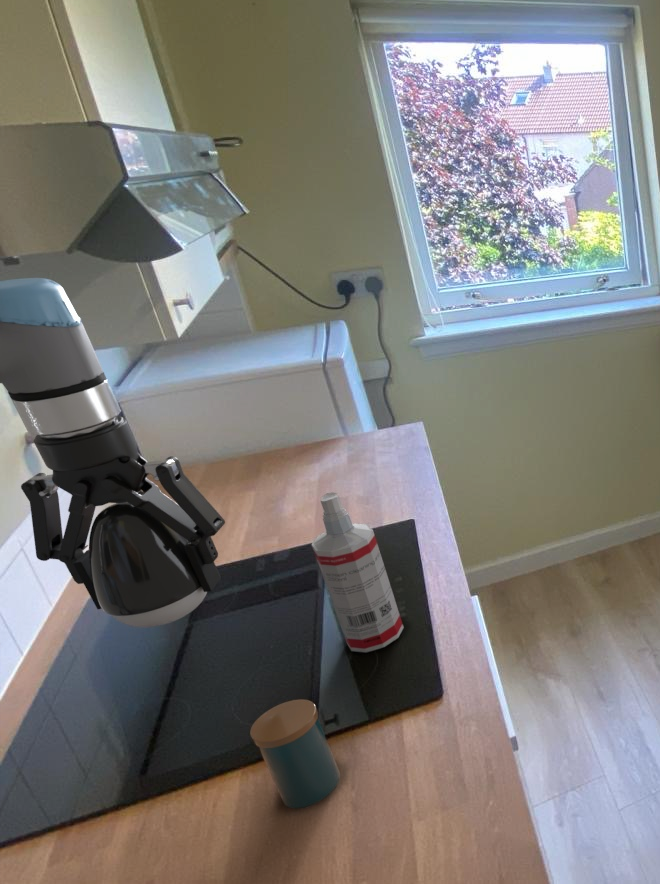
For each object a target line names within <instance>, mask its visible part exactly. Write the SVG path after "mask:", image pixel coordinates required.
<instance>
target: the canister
mask: <svg viewBox="0 0 660 884" xmlns="http://www.w3.org/2000/svg"><path fill="white" fill-rule="evenodd" d="M249 735H250V738H251V740H252V742H253V744H254V745H255V746H256V747H257V748H258V750H259V752H260V754H261V757H262V759H263V761H264V763H265V766H266V768H267V770H268V772H269V775H270V776H271V778H272V781H273V783H274V785H275V787H276V790H277V792H278V793H279V796H280V798H281V800H282V803H283V804H284V806H285V807H287V808H290V809H302V808H306V807H309V806H313V805H315V804H316V803H319V802H320V801H322V800H324V799H325V798H327V796H329V795H330V794H331V793H332V792H333V791H334V790H335V789H336V788H337V786H338V784H339V782H340V780H341V772H340V769H339V766H338V763H337V762H336V760H335V759H336V758H335V757H334V754H333V752H332V749H331V746H330V744H329V742H328V739H327V736H326V734H325V732H324V729H323V727H322V724H321V722H320V719H319V711H318V709H317V706H316V704H315V703H314V702H313V701H312V700H308V699H305V698H304V699H303V698H300V699H292V700H289V701H285V702H282V703H279V704H278V705H275V706H273V707H272V708H270V709H268V710H266V711H264V713H262V714H261V715H260V716H259V717H258V718H257V719H256V720H255V721H254V723H253V724H252V726H251V728H250V731H249Z"/></svg>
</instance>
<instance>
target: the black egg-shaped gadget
mask: <svg viewBox="0 0 660 884" xmlns="http://www.w3.org/2000/svg"><path fill="white" fill-rule="evenodd" d="M143 493H144V492H143V491H142V490H140V492H139V493H138V494H140V495H142V494H143ZM92 522H93V523H92V524H91V527H90V531H89V538H88V539H89V540H88V550H89V560H90V570H91V577H92V582H93V586H94V589H95V593H96V596H97V599H98V602H99V604H100V606H101V608H102V609H101V610H102V611H103V612H104V613H105V614H107V615H110V616H111V617H112V618H113V619H115V620H116V621H117V622H119V623H121V624H123V625H126V626H130V627H134V628H154V627H159V626H164V625H168V624H171V623H173V622H176V621H178V620H180V619H182V618H184V617H186V616H187V615H189V614H190V613H192V612H193V611H195V609H197V608H198V607H199V606H200V604H202V602H203V601H204V599H205V598H206V596H207V594H208V592H204V591H203V589H202V586H201V584H200V582H199V580H198V578H197V576H196V573H195V571H194V569H193V567H192V565H191V562H190V560H189V558H188V556H187V554H186V552H185V549H184V547H183V546H184V545H185V544H186V543H187V542H188V540H187V539H185V538H184V537H182V536H181V535H180V534H178V533H177V532H175V531H174V530H172V529H171V528H169V527H168V526H167V525H165V524H164V523H162V522H161V521H159V520H158V519H157V518H155V517H154V516H152V515H151V514H149V513H148V512H147V511H145V510H144V509H142V508H140V507H134V506H132V505H131V504H130V503H128V502H124V503H112V504H111V505H108V506H106V507H105V508H104V509H102V510H101V511H100V512H99V513H98V514H97V515H96V517H95V518H94V519H93V521H92Z"/></svg>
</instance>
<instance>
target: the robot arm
mask: <svg viewBox="0 0 660 884" xmlns="http://www.w3.org/2000/svg"><path fill="white" fill-rule="evenodd" d="M0 384H2V386H3V387H4V389H5V390H6V391H7V393H8V395H9V398H10V399H11V402H12V403H13V406H14V407H15V409H16V412H17V414H18V415H19V418H20V419H21V422H22V423H23V425H24V427H25V429H26V431H27V433H28V434H30V435H34V436H35V437H34V439H33V444H34V445H35V448H36V449H37V451H38V453H39V455H40V457H41V459H42V461H43V463H44V464H45V466H46V467H47V468H48V469H49V470H51V471H52V474H47V473H44V472H37V474H35V475H33V476H32V477H30V478H29V479H27V480H25V481H24V482H23V483H22V484H21V485H20V489H21V490H22V492H23V493H24V495H25V497H26V498H27V500H28V501H29V507H30V514H31V515H30V516H31V523H32V532H33V540H34V548H35V556H36V558H37V559H38V560H39V561H42V562H47V561H48V560H59V562H61V563H64V565H65V567H66V569H67V570H68V572H69V574H70V576H71V577H72V579H73V581H74V582H75V583H76V584H77V585H81V584H83V585H84V587H85V589H86V592H87V593H88V594H89V597H90V598H91V600H92V602H93V604H94V605H95V608H96V610H102V608H101V606H100V604H99V602H98V599H97V596H96V593H95V589H94V586H93V582H92V577H91V570H90V560H89V549H87V550H86V548H87V547H89V544H87V540H88V537H89V535H90V531H91V527H92V524H93V523H92V522H93V520H94V519H93V518H94V515H95V511H96V509H97V508H96V507H101V506H104V505H107V504H116V503H124V502H128V503H130V504H131V505H132V506H134V507H140V508H142V509H144V510H145V511H147V512H148V513H149V514H151V515H152V516H154V517H155V518H157V519H158V520H159V521H161V522H162V523H164V524H165V525H167V526H168V527H169V528H171V529H172V530H174V531H175V532H177V533H178V534H180V535H181V536H182V537H184V538H185V539H187V540H188V542H187V543H186V544H185V545H184V546H183V547H184V549H185V552H186V554H187V556H188V558H189V560H190V562H191V565H192V567H193V569H194V571H195V573H196V576H197V578H198V580H199V582H200V584H201V586H202V589H203V591H204V592H207V593H208V592H212V591H213V590H214V588H215V587H216V586H217V585H218V583H219V582H220V581H221V579H222V577H221V574H220V572H219V570H218V568H217V565H216V563H215V561H216V560H217V559H218V558H219V552H218V550H217V548H216V547H217V546H216V545H215V542H214V540H213V538H212V537H213V536H215V535H216V534H217V533H218V532H219V531H220V530H221V528H222V527H223V526H224V525H225V523H226V520H225V519H224V517H222V515H221V514H220V513H219V512H218V511H217V510H216V509H215V507H214V506H213V505H212V504H211V503H210V501H208V499H207V498H206V497H205V496H204V495H203V493H202V492H201V491H200V490H199V489H198V488H197V487H196V486H195V484H193V482H192V481H191V480H190V479H189V478H188V477H187V475H185V473H184V471H183V467H182V465H181V463H180V460H179V458H177V457H176V456H172V455H171V456H168V457H166V458H165V459H164V460H156V461H147V459H145V458H144V457H142V455H141V454H140V452H139V451H138V443H137V440H136V438H135V436H134V434H133V432H132V430H131V428H130V426H129V423H128V421H127V419H126V418H125V417H122V416H121V415H119V414H120V413H121V412H122V409H121V407H120V404H119V403H118V400H117V398H116V396H115V393H114V392H113V390H112V387H111V385H110V383H109V380H108V378H107V376H106V374H105V372H104V369H103V367H102V365H101V363H100V360H99V358H98V356H97V354H96V352H95V349H94V347H93V344H92V342H91V340H90V338H89V335H88V332H87V331H86V329H85V326H84V324H83V321H82V318H81V317H80V316H79V315H78V314H77V311H76V309H75V307H74V306H73V304H72V302H71V300H70V298H69V297H68V294H67V292H66V290H65V289H64V287H63V286H62V285H61V284H60V283H58V282H56V281H54V280H52V279H49V278H43V277H27V278H26V277H25V278H15V279H7V280H0ZM148 475H151V476H152V477H153V481H155V482H159V483H160V485H161V487H162V488H163V489H164V491H165V492H166V493H167V494H168V495H169V496H170V497H171V498H172V499H171V498H170V497H168V496H167V495H166V494H164V493H163V492H162V491H161V488H160V487H159V486H158V485H157V484H156V483H154V482H153V481H151V480H150V479H149V478H148ZM59 489H61V490H63V491H64V492H66V493H67V494H70V495H71V497H70V503H69V505H68V508H67V511H68V513H69V515H68V517H67V522H66V525H65V530H64V533H63V528H62V527H63V525H62V519H61V518H62V516H61V508H60V499H59V492H58V490H59ZM140 491H143V492H144V493H143V494H142V495H140V494H138V493H139V492H140ZM84 550H86V551H84Z"/></svg>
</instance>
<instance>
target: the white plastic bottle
mask: <svg viewBox="0 0 660 884" xmlns="http://www.w3.org/2000/svg"><path fill="white" fill-rule="evenodd" d="M319 501H320V504H321V507H322V510H323V512H322V521H323V524H324V528H325V532H323V533H320V534H318V535H317V537H316V538H315V539H314V540H313V541H312V543H311V548H312V551H313V553H314V557H315V559H316V561H317V564H318V566H319V569H320V572H321V575H322V578H323V580H324V581H323V582H324V583H325V587H326V589H327V592H328V595H329V597H330V600H331V603H332V607H333V609H334V611H335V614H336V617H337V620H338V623H339V625H340V629H341V632H342V635H343V636H344V639H345V643H346V645H347V646H348V648H349V650H350V651H351V652H357V653H369V652H373V651H377V650H380V649H382V648H386V647H387V646H388V645H390V644H391V643H393V642H394V641H397V639H399V637H400V635H401V634H402V632H403V630H404V628H405V627H404V624H403V621H402V618H401V614H400V611H399V608H398V604H397V602H396V598H395V596H394V592H393V589H392V586H391V583H390V580H389V576H388V573H387V570H386V567H385V564H384V561H383V557H382V554H381V552H380V547H379V545H378V541H377V538H376V535H375V532H374V529H373V528H372V527H371V526H370V525H369V524H368V523H357V522H352V519H351V516H350V514H349V512H348V511H347V509H346V508H345V507H344V506H343V504H342V501H341V498H340V495H339V494H338V493H337V492H333V491H332V492H327V493H325V494H324V495H322V496H321V498H320V499H319Z"/></svg>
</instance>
